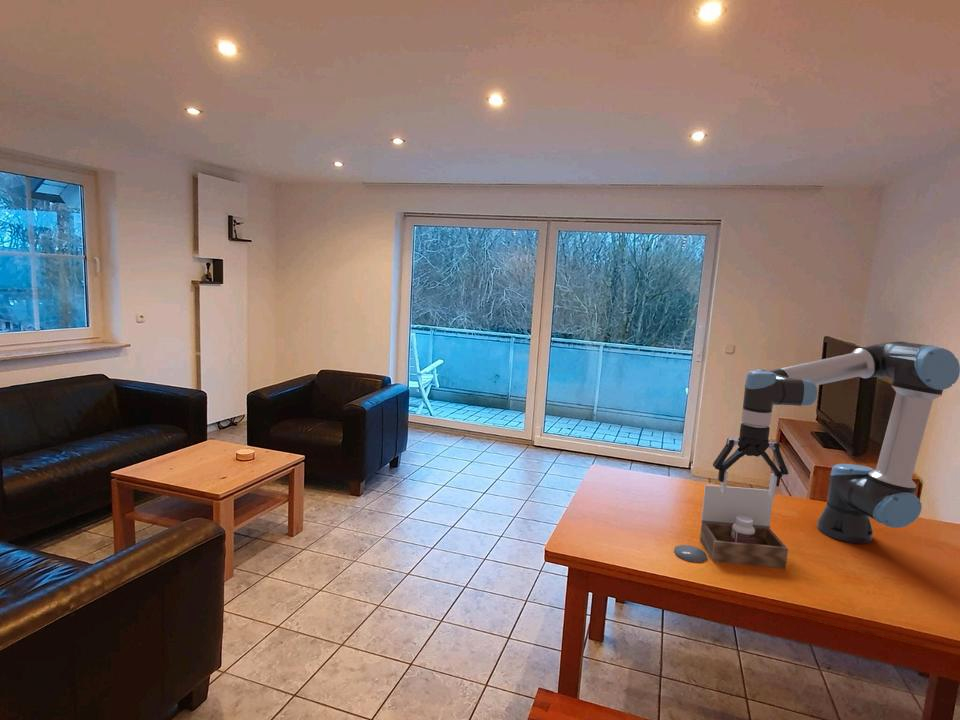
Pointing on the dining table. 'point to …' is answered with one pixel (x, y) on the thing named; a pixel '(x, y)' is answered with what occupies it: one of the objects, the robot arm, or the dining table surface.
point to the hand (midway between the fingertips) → (746, 494)
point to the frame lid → (736, 505)
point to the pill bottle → (743, 530)
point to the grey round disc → (690, 553)
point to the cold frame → (743, 547)
